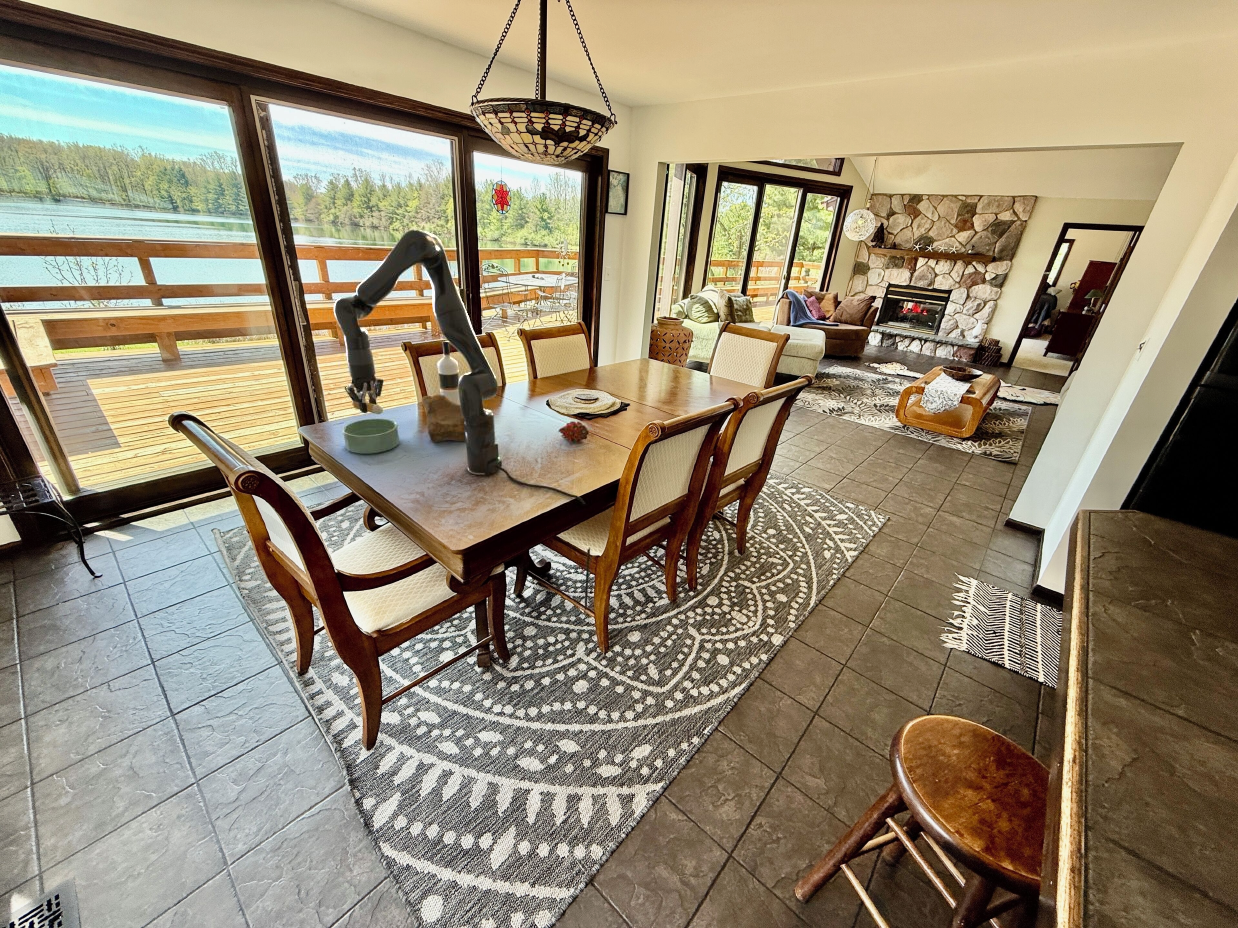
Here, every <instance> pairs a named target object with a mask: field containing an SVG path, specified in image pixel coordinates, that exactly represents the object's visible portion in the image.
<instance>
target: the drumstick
mask: <svg viewBox="0 0 1238 928" xmlns="http://www.w3.org/2000/svg"><path fill="white" fill-rule="evenodd" d="M365 402H366V406H367V413H371V414H375V415H381V414H383V412H384V407H383V406H382V405H381V404H377V405H375V404H372V403H369V401H368V400H367V399H366V398H365ZM351 405H352V406H353V408H354V409H356V410H360V408H359V403H358V402H354V401H352V400H351Z"/></svg>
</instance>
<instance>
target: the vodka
mask: <svg viewBox="0 0 1238 928" xmlns="http://www.w3.org/2000/svg"><path fill="white" fill-rule="evenodd" d="M441 343H442V353H443V357H442V358H441V359H439V360H438V362H437V363H436V368H437V373H438V382H439V383H438V384H439V392H440V395H444V396H446V397H447V398H448V399H449V400H450V401H451V402H453V403H456V404H458V405H460V400H459V393H458V381H459V379H460V375H459V374H460V373H459V371H460V370H459V363H458V361H457V360H455V359H454V358H453V357H451V349H450V343H449V342H448V341H447V340H443V341H442V342H441Z"/></svg>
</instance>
